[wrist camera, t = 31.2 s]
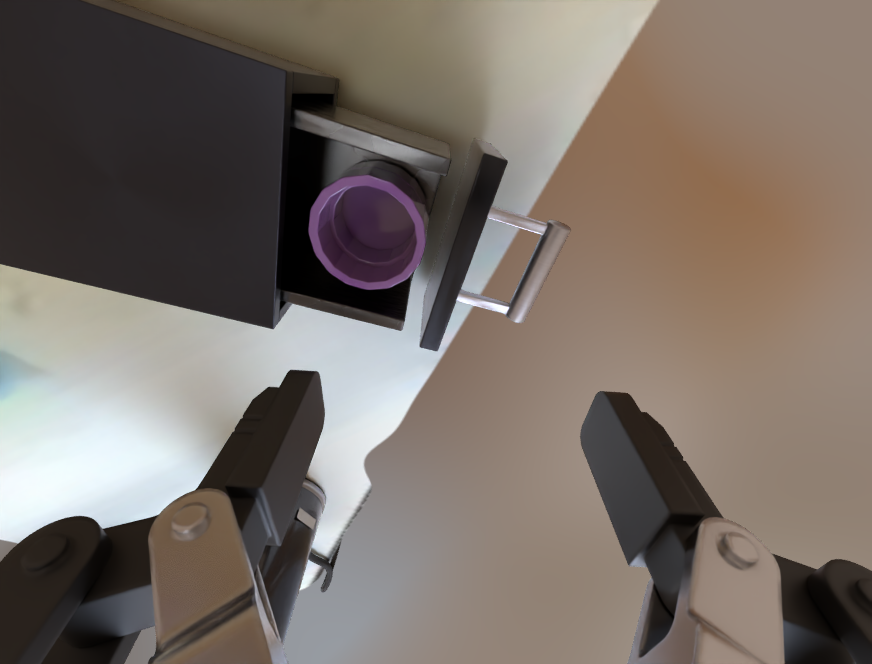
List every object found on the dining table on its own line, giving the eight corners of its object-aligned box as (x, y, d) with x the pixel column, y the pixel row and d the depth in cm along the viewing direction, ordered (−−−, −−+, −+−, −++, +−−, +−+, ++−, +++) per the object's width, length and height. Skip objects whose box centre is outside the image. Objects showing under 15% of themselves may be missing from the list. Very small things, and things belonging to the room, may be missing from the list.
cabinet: (339, 78, 21) (286, 70, 14) (317, 269, 28) (273, 329, 21) (64, -17, 19) (-165, -85, 12) (112, 214, 26) (-16, 260, 19)
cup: (414, 267, 25) (409, 301, 21) (327, 242, 25) (303, 273, 20) (440, 178, 22) (439, 197, 18) (340, 145, 21) (315, 158, 17)
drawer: (569, 170, 23) (611, 195, 17) (501, 317, 29) (515, 371, 23) (266, 66, 20) (196, 56, 14) (261, 252, 26) (211, 296, 20)
